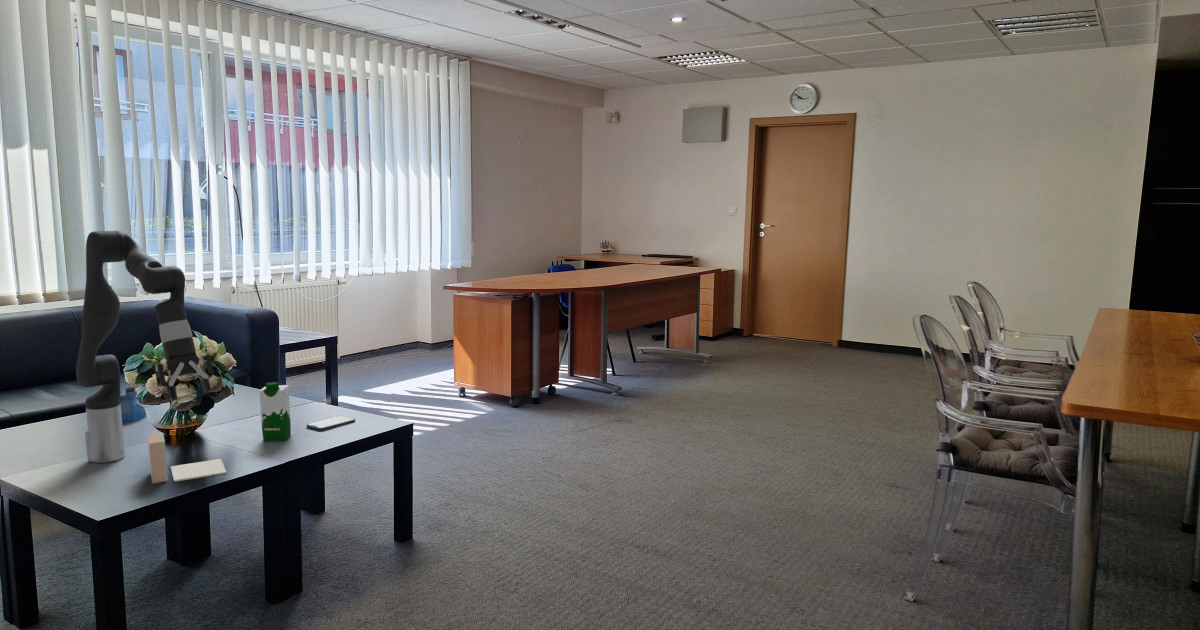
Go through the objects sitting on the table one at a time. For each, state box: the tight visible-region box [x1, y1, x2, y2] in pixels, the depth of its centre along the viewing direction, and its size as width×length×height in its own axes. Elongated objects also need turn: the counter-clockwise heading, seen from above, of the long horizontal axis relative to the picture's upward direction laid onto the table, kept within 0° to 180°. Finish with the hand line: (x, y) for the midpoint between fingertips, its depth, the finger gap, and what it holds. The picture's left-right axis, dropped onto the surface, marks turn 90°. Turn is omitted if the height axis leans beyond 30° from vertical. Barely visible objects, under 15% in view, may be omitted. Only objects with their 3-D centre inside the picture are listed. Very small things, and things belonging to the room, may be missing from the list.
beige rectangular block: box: [147, 432, 169, 484], centre depth 231 cm, size 4×10×12 cm, turn 32°
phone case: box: [306, 415, 356, 432], centre depth 287 cm, size 9×2×16 cm
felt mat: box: [170, 458, 228, 483], centre depth 238 cm, size 14×14×1 cm
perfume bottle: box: [120, 386, 147, 423], centre depth 292 cm, size 6×6×12 cm
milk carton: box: [259, 381, 292, 442], centre depth 269 cm, size 9×9×20 cm
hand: (190, 396), depth 213 cm, fingers open, 8 cm apart
